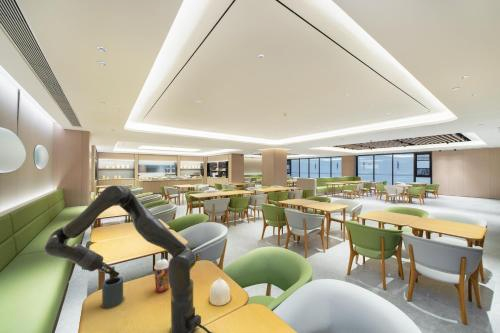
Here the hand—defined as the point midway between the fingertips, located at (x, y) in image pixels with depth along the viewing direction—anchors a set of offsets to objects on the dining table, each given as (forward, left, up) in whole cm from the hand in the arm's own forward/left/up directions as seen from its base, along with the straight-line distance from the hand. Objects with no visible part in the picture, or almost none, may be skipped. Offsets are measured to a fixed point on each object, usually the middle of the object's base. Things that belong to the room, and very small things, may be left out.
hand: (116, 274), depth 112 cm
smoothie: (-12, -19, -13) cm, 26 cm away
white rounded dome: (-45, -31, -13) cm, 56 cm away
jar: (-1, +2, -13) cm, 14 cm away
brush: (0, +2, -10) cm, 11 cm away
